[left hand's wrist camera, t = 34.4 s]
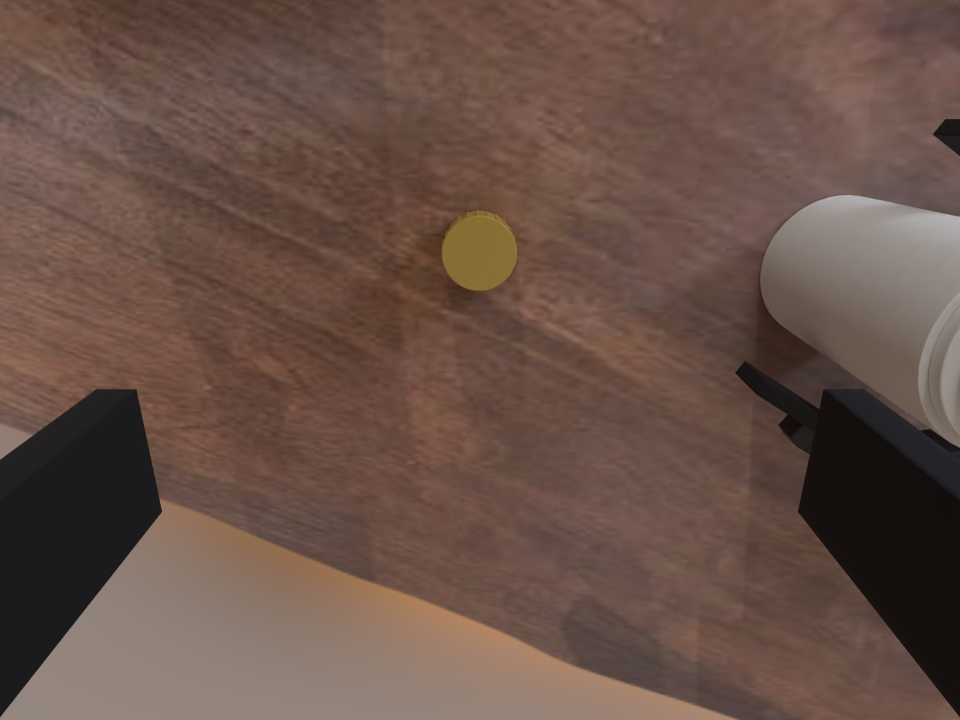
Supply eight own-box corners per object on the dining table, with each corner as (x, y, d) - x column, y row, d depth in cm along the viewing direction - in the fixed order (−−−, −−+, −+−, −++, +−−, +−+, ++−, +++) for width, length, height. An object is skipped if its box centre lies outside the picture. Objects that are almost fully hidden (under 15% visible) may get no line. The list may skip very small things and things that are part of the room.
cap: (496, 196, 34) (497, 201, 32) (527, 263, 36) (530, 272, 34) (430, 229, 35) (427, 236, 33) (462, 293, 36) (461, 304, 34)
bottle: (787, 361, 38) (1077, 591, 19) (738, 240, 35) (1017, 374, 17) (924, 297, 36) (1374, 479, 18) (882, 167, 34) (1356, 225, 16)
